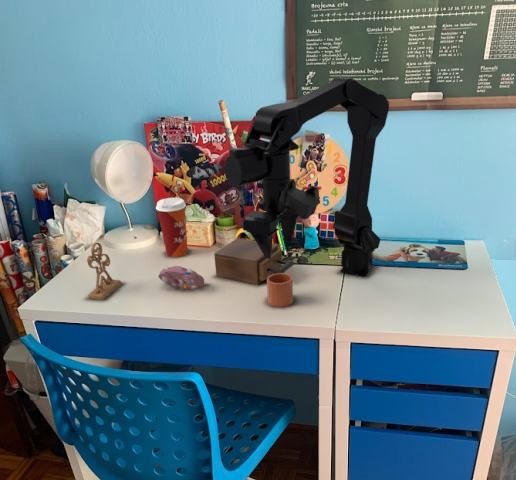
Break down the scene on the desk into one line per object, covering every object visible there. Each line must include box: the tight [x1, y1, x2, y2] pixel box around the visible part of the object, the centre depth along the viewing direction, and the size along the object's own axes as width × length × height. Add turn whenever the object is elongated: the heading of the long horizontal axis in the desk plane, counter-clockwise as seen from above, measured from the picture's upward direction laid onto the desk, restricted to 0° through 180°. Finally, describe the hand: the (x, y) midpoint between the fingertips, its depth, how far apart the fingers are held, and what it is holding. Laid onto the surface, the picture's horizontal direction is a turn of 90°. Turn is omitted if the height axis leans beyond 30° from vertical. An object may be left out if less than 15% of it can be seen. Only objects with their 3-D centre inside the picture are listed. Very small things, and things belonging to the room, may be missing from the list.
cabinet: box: [213, 237, 279, 285], centre depth 142 cm, size 12×11×6 cm
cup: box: [266, 272, 294, 308], centre depth 128 cm, size 6×6×6 cm
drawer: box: [258, 248, 295, 282], centre depth 141 cm, size 15×9×4 cm, turn 61°
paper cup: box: [155, 197, 188, 258], centre depth 153 cm, size 8×8×14 cm
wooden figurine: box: [86, 242, 122, 301], centre depth 136 cm, size 9×4×12 cm, turn 163°
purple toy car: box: [158, 265, 205, 290], centre depth 137 cm, size 10×5×7 cm, turn 70°
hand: (278, 250), depth 124 cm, fingers open, 9 cm apart
